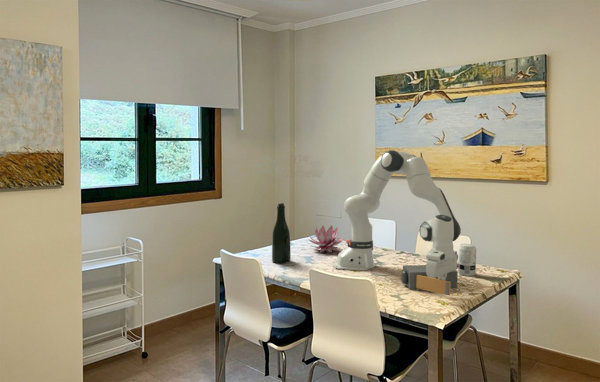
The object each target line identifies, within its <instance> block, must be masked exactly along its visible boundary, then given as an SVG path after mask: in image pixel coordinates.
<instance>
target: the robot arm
mask: <svg viewBox="0 0 600 382" xmlns="http://www.w3.org/2000/svg"><path fill="white" fill-rule="evenodd" d="M393 174H396V175H403V176H404V175H405V177H406V181H407V185H408V189H409V191H410V193H411V194H412V195H413V196H415V197H417V198H418V199H423V200H426V201H428V202H430V203H432V204H434V205H435V207H436V209H437V211H438V215H435V216H434V217H433V218H431V219H429V220H425V221H423V222H422V223H421V224H420V226H419V236H420V238H422V240H423V241H425V242H428V243H429V242H431V243H432V247H431V249H430V250H429V251H428V252H427V253H426V255H425V259H427V260H426V264H425V265H426V273H427V276H428V277H431V278H436V277H438V279H440V280H445V279H446V277H447V273H449V272H452V271H454V270H456V271H457V270H458V260H457V257H456V255H455V250H454V243H453V242H456V240H457V239H458V238H459V237H460V235H461V232H462V229H461V225H460V224H459V222H458V220H457V218H455V217H456V216H455V215H454V213H453V211H452V209H451V207H450V204H449V203H448V200H447V197H446V196H445V194H444V192H443V190H442V189H441V188H439V187H438V186H437V185H436V183H435V182H434V180H433V178H432V175H431V172H430V169H429V167H428V164H427V163H426V161H425V159H424V157H420V156H417V155H414V154H411V153H408V152H404V151H399V150H398V151H397V150H395V149H394V150H393V149H392V150H387V151H384V152H383V154H381V155H380V156H379V157H378V158H377V159H376V161H375V162H374V163H373V165H371V168H370V170H369V171H368V172H367V175H365V178H364V180H363V189H362V191H361V193H359V194H355V195H352V196H350V197H348V198H347V199H346V200H345V201H344V204H343V209H344V211H345V213H346V214H347V215H348V217H349V221H350V227H351V239H350V240H349V239H346V241H345V243H346V244H347V247H346V248H344V249H343V250H342V251H339V253H338V255H337V259H336V261H334V262H332V267H333V266H334V267H335V269H336V268H337V269H336V270H343V269H345V270H347V271H349V270H351V271H367V270H370V269H373V268H375V265H376V264H375V260H374V255H373V250H374V241H373V225H372V224H371V222H370V219H369V214H371V213H374V212H376V211H377V210H378V208H379V207H380V199H381V197H382V194H383V191H384V189H385V188H386V186H387V184H388V183H389V181H390V179H391V178H392V176H393ZM334 267H333V268H334ZM345 270H344V271H345Z"/></svg>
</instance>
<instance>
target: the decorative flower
mask: <svg viewBox="0 0 600 382" xmlns="http://www.w3.org/2000/svg"><path fill="white" fill-rule="evenodd" d="M333 227H334V226H333V225H330V227H329V228H328V229H327V230H326V229H325V225H322V226H321V228H320V229H319V231H318V228H317V226H315V228H314V234H315V237H316V239H317V240H316V239H314V238H313V237H311V236H309V237H310V239H309V241H310V242H311V243H312V244H314V245H318V246H316V247H314V251H317V250H319V251H320V252H319V253H321V252H322V253H324V252H325V251H326V252H327V253H328V252H329V253H332V252H333V251H335V252H338V251H339V252H340V247H336V246H337V245H339V244H341V243H342V242H343V239H344V236H342V237H340V238H337V236H338V231H339V229H338V228H339V227H338V226H336V227H335V229H334V228H333ZM332 250H333V251H332Z"/></svg>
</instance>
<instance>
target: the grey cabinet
mask: <svg viewBox="0 0 600 382" xmlns="http://www.w3.org/2000/svg"><path fill="white" fill-rule="evenodd" d="M458 274H459V273H458V270H457V269H456V270H454V271H452V272H449V273H447V277H446V279H445V281H450V282H451V286H450V290H452V289H454V290H455V289H458ZM417 275H421V276H426V277H428V276H427V273H426V264H422V265H420V264H417V265H415V264H414V265H411V264H410V265H402V271H401V273H400V279H401V283H402V284H403V285H405V286H406V287H407V289H408V290H412V291H414V290H420V289H419V288H416V282H417ZM436 279H438V277H436Z"/></svg>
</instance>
